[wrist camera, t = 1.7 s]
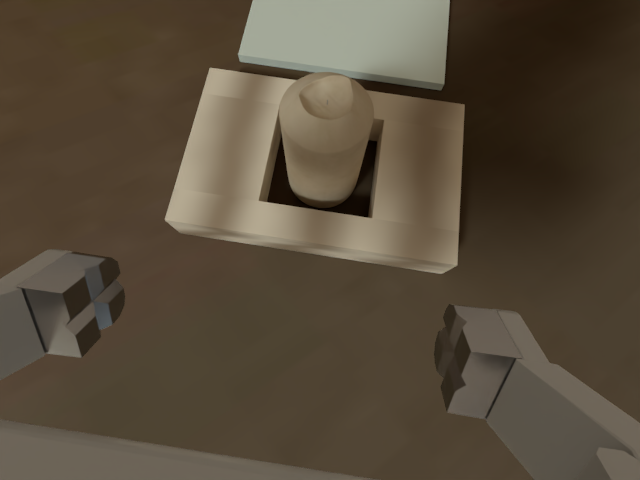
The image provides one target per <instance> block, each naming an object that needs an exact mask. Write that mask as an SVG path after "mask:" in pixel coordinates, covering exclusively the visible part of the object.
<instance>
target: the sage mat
mask: <svg viewBox="0 0 640 480" xmlns="http://www.w3.org/2000/svg"><path fill="white" fill-rule="evenodd" d="M449 6H450V0H253V2H252V6H251V9H250V13H249V17H248V20H247V24H246V28H245V31H244V35H243V39H242V42H241V46H240V50H239V53H238V56H239V60H240V62H246V63H253V64H260V65H267V66H274V67H281V68H287V69H294V70H301V71H308V72H315V73H318V72H333V73H338V74H342V75H345V76H347V77H350V78H357V79H364V80H371V81H378V82H385V83H392V84H399V85H406V86H413V87H420V88H427V89H434V90H442V88H443V86H444V81H445V66H446V51H447V36H448V21H449Z"/></svg>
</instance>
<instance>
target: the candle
mask: <svg viewBox="0 0 640 480" xmlns="http://www.w3.org/2000/svg"><path fill="white" fill-rule="evenodd" d="M279 118H280V125H281V132H282V139H283V146H284V153H285V160H286V166H287V173H288V179H289V184H290V186H291V189H292V191H293V192H294V194H295V195H296V196H297V198H298V199H299V200H301V201H302V202H303V203H305V204H307V205H309V206H312V207H316V208H330V207H334V206H337V205H339V204H341V203H342V202H344V201H345V200H346V199H347V198H348V197H349V196H350V195H351V194H352V192H353V190H354V188H355V186H356V183H357V180H358V176H359V172H360V169H361V165H362V161H363V158H364V154H365V150H366V147H367V143H368V139H369V135H370V132H371V128H372V124H373V120H374V108H373V103H372V100H371V98H370V96H369V94H368V93H367V91H366V90H365V89H364V88H363V87H362V86H361V85H360V84H359V83H358V82H356V81H355V80H353V79H351V78H349V77H347V76H345V75H342V74H338V73H333V72H318V73H313V74H310V75H307V76H304V77H302V78H300V79H298V80H297V81H296V82H294V83H293V84H292V85H291V86H290V87H289V88H288V89H287V90H286V92H285V93H284V95H283V97H282V99H281V102H280V106H279Z"/></svg>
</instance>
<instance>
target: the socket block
mask: <svg viewBox="0 0 640 480" xmlns="http://www.w3.org/2000/svg"><path fill="white" fill-rule="evenodd" d="M296 81H297V80H292V79H285V78H278V77H271V76H264V75H257V74H250V73H243V72H236V71H229V70H222V69H215V68H210V69H209V73H208V76H207V79H206V83H205V86H204V89H203V93H202V96H201V100H200V103H199V106H198V110H197V113H196V116H195V120H194V123H193V126H192V130H191V133H190V137H189V140H188V143H187V147H186V150H185V153H184V157H183V160H182V163H181V167H180V170H179V174H178V177H177V180H176V184H175V187H174V190H173V194H172V197H171V201H170V204H169V207H168V211H167V214H166V217H165V221H167V222H168V223H169V224H170V225H171V226H172V227H174V228H175V229H176V230H177V231H178V232H180V233H182V234H189V235H195V236H202V237H208V238H215V239H221V240H227V241H234V242H240V243H247V244H253V245H259V246H266V247H272V248H279V249H285V250H291V251H298V252H304V253H311V254H317V255H324V256H330V257H336V258H343V259H349V260H356V261H362V262H368V263H375V264H381V265H388V266H394V267H400V268H407V269H413V270H420V271H426V272H432V273H439V274H442V273H444V272H446V271H448V270H450V269H452V268H453V267H455V266H457V261H458V239H459V218H460V196H461V175H462V153H463V132H464V110H465V104H458V103H451V102H444V101H437V100H430V99H423V98H416V97H409V96H402V95H395V94H389V93H382V92H375V91H368V90H366V91H367V93H368V94H369V96H370V98H371V100H372V103H373V108H374V120H373V124H372V128H371V132H370V135H369V139H368V140H370V141H377V148H376V156H375V164H374V172H373V180H372V188H371V196H370V204H369V212H368V218H367V217H360V216H354V215H347V214H341V213H334V212H328V211H321V210H315V209H308V208H302V207H295V206H288V205H282V204H275V203H269V202H267V200H268V195H269V190H270V186H271V181H272V176H273V172H274V167H275V162H276V157H277V153H278V148H279V143H280V139H281V134H282V132H281V125H280V118H279V106H280V102H281V99H282V97H283V95H284V93H285V92H286V90H287V89H288V88H289V87H290V86H291V85H292V84H293V83H294V82H296Z"/></svg>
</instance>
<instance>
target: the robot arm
mask: <svg viewBox="0 0 640 480" xmlns="http://www.w3.org/2000/svg"><path fill="white" fill-rule="evenodd" d="M119 275H120V269H119V265H118V262H117V261H116V260H115V259H113V258H111V257H104V256H98V255H92V254H85V253H79V252H72V251H65V250H58V249H52V250H46V251H45V252H43V253H41V254H40V255H38V256H37V257H35V258H33V259H32V260H30V261H28V262H27V263H25V264H24V265H22V266H20V267H19V268H17V269H16V270H14V271H12V272H11V273H9V274H7V275H6V276H4V277H3V278H1V279H0V380H1V379H3V378H5V377H7V376H9V375H10V374H12V373H14V372H16V371H18V370H19V369H21V368H23V367H25V366H27V365H29V364H30V363H32V362H34V361H36V360H38V359H39V358H41V357H43V356H45V353H46V354H55V355H63V356H71V357H80V358H82V357H83V356H84V355H85V354H86V353H87V352H88V350H89V349H90V348H91V347H92V346H93V345H94V344H95V343H96V342H97V341H98V340H99V339H100V337H101V331H100V330H101V329H103V328H106V327H108V326H110V325H112V324H113V323H114V322H115V321H116V320H117V319H118V317H119V316H120V314H121V312H122V309H123V307H124V302H125V293H124V288H123V287H122V286H121V285H120V283H119V282H118V281H117V280H116V279H117V277H118V276H119ZM443 319H444V322H445V326H446V327H445V328H443V329H442V330H440V331H439V332H438V335H437V338H436V342H435V350H434V358H435V365H436V370H437V372H438V373H439V374H440V375H441V376H442V377H443V378H444V379H443V382H442V384H441V391H442V395H443V399H444V403H445V407H446V411H447V413H453V414H459V415H464V416H470V417H476V418H481V419H487V420H486V422H487V423H488V424H489V426H490V427H491V428H492V429H493V430H494V432H495V433H496V434H497V435H498V436H499V438H500V439H501V440H502V441H503V443H504V444H505V445H506V446H507V447H508V449H509V450H510V451H511V452H512V453H513V455H514V456H515V457H516V458H517V459H518V461H519V462H520V463H521V464H522V465H523V467H524V468H525V469H526V470H527V471H528V473H529V474H530V475H531V476H532V478H533V479H534V480H640V423H639V422H637V421H636V420H634V419H633V418H632V417H630V416H629V415H627V414H626V413H625V412H623V411H622V410H620V409H619V408H618V407H616V406H615V405H613V404H612V403H611V402H609V401H608V400H606V399H605V398H604V397H602V396H601V395H599V394H598V393H597V392H595V391H594V390H592V389H591V388H590V387H588V386H587V385H585V384H584V383H582V382H581V381H580V380H578V379H577V378H575V377H574V376H573V375H571V374H570V373H568V372H567V371H566V370H564V369H563V368H561V367H560V366H559V365H557V364H550V363H549V361H548V360H547V358H546V356H545V355H544V353H543V352H542V350H541V348H540V347H539V345H538V344H537V342H536V340H535V339H534V337H533V335H532V334H531V332H530V331H529V329H528V327H527V326H526V324H525V323H524V321H523V319H522V318H521V316H520V315H519V314H518V313H516V312H515V311H507V310H497V309H484V308H476V307H468V306H460V305H452V304H449V305H448V307H447V308H446V310H445V313H444V316H443ZM0 480H378V479H371V478H365V477H359V476H352V475H346V474H340V473H334V472H327V471H321V470H315V469H308V468H302V467H296V466H289V465H283V464H277V463H270V462H264V461H258V460H251V459H245V458H239V457H233V456H226V455H220V454H214V453H208V452H201V451H195V450H189V449H183V448H177V447H170V446H164V445H158V444H152V443H145V442H139V441H133V440H127V439H120V438H114V437H108V436H102V435H95V434H89V433H83V432H77V431H70V430H64V429H58V428H51V427H45V426H39V425H33V424H26V423H20V422H14V421H7V420H1V419H0Z"/></svg>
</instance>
